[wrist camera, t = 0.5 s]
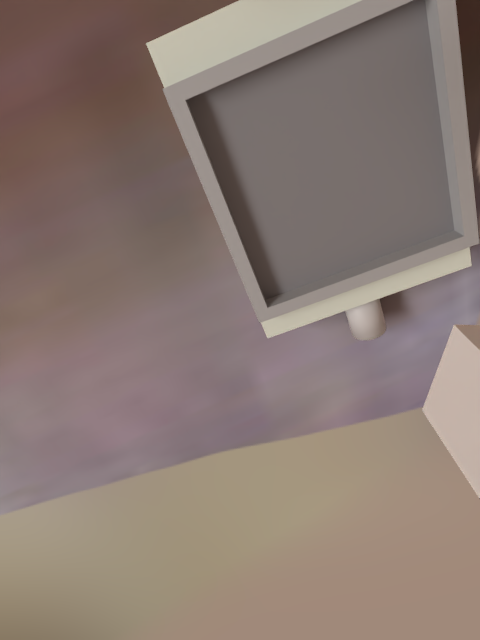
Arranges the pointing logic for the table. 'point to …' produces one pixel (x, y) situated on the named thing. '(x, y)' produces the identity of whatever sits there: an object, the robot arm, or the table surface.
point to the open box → (328, 149)
